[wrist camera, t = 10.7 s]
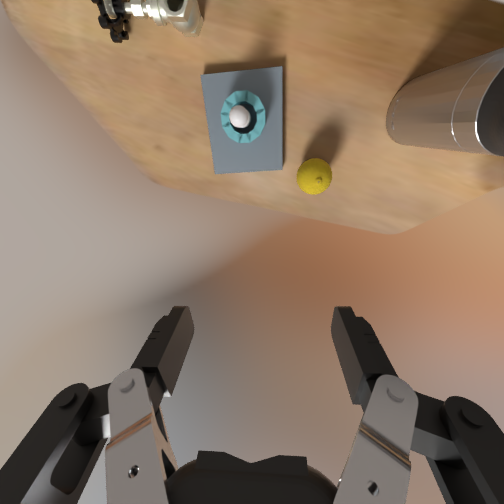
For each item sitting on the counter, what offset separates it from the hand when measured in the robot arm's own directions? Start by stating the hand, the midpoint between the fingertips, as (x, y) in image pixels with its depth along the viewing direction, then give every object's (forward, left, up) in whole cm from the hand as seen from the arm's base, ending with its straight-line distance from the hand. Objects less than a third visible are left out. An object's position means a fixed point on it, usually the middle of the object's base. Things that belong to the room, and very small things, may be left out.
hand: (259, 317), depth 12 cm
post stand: (+3, -11, -33) cm, 35 cm away
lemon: (-8, -2, -33) cm, 34 cm away
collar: (+3, -11, -31) cm, 33 cm away
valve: (+13, -23, -33) cm, 43 cm away
